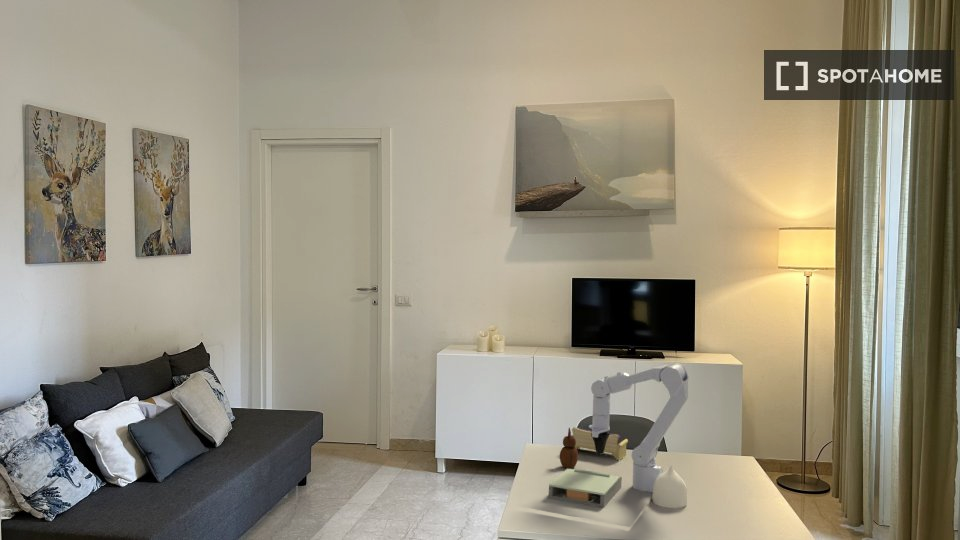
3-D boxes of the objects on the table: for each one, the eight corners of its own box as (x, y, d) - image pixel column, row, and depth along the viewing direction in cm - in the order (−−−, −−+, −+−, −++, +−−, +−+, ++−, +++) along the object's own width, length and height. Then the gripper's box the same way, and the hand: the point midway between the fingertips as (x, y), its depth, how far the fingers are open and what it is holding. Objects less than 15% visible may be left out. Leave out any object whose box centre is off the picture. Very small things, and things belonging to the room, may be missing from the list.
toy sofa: (628, 456, 294) (628, 430, 294) (620, 462, 286) (621, 435, 286) (577, 447, 304) (578, 422, 304) (568, 453, 297) (569, 426, 296)
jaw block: (590, 499, 242) (591, 489, 241) (587, 502, 239) (588, 492, 239) (569, 495, 245) (570, 485, 244) (566, 498, 242) (566, 488, 242)
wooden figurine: (570, 470, 273) (572, 429, 273) (556, 467, 277) (558, 426, 276) (580, 466, 279) (581, 426, 278) (566, 463, 282) (567, 423, 282)
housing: (621, 490, 254) (621, 476, 253) (603, 510, 234) (604, 495, 234) (569, 481, 261) (569, 468, 261) (548, 500, 242) (548, 486, 242)
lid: (619, 478, 251) (619, 475, 251) (604, 495, 234) (604, 491, 234) (567, 470, 259) (567, 466, 259) (549, 486, 242) (549, 482, 242)
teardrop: (662, 509, 237) (663, 471, 237) (645, 497, 248) (647, 460, 247) (694, 507, 240) (695, 469, 239) (676, 495, 251) (677, 459, 250)
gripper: (595, 408, 269) (594, 446, 270) (583, 417, 256) (582, 457, 256) (615, 410, 266) (614, 449, 267) (604, 419, 253) (602, 460, 253)
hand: (599, 453), depth 261 cm, fingers closed
